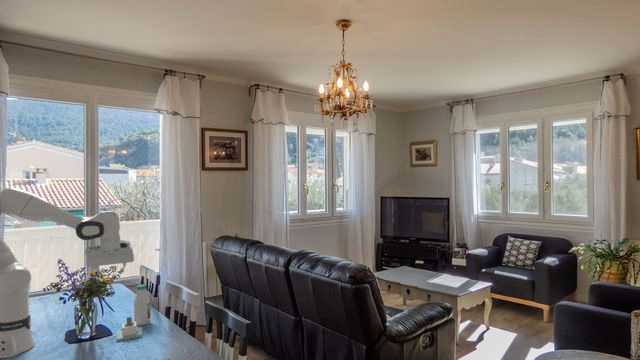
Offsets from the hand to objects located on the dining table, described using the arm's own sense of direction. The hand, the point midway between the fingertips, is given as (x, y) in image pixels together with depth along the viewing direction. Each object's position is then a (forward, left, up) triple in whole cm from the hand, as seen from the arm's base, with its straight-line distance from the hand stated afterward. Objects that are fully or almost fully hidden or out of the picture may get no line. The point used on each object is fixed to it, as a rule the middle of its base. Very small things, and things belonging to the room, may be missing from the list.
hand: (111, 273), depth 190 cm
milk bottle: (+13, +14, -31) cm, 37 cm away
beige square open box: (+7, 0, -30) cm, 31 cm away
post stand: (+7, 0, -31) cm, 32 cm away
